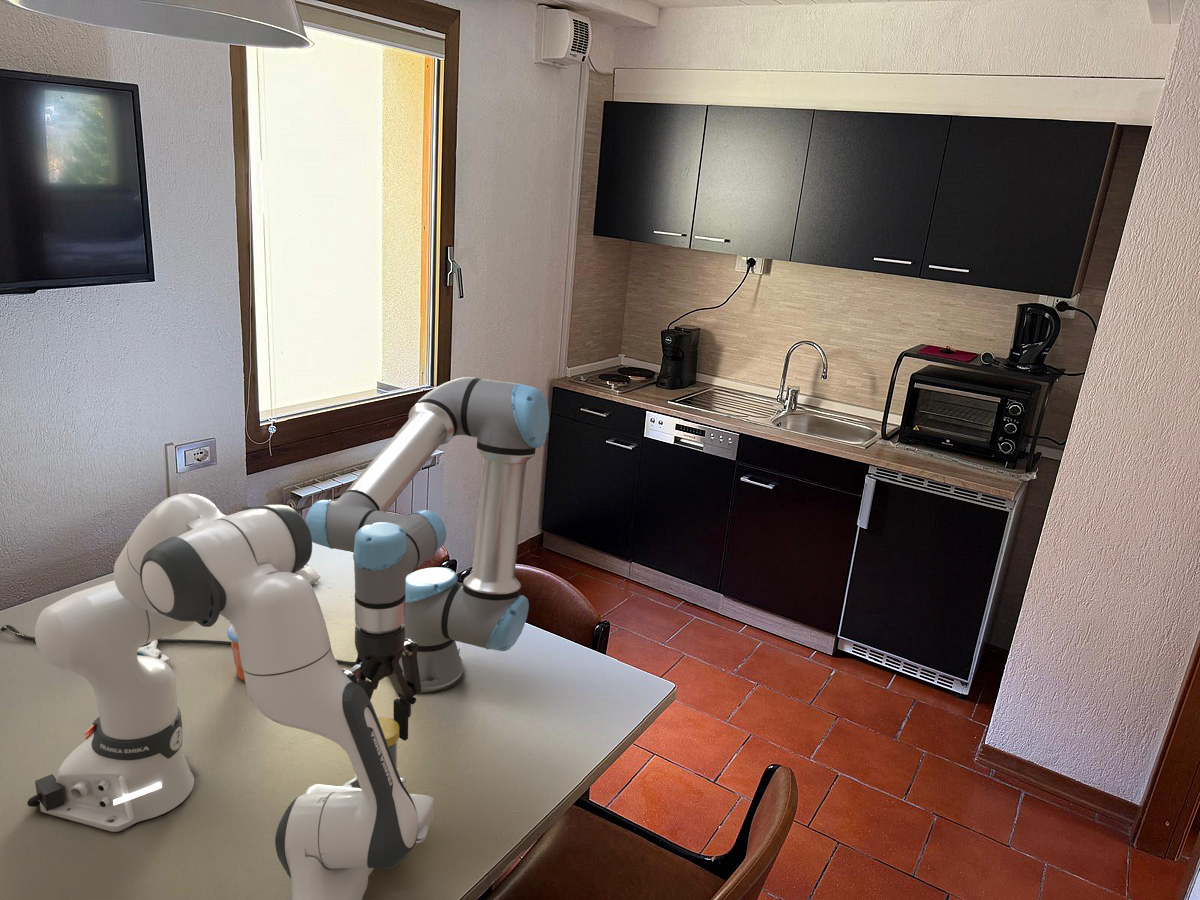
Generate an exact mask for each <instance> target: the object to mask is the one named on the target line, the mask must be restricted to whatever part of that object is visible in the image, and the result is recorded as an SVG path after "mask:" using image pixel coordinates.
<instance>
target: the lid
mask: <svg viewBox="0 0 1200 900" xmlns="http://www.w3.org/2000/svg"><path fill="white" fill-rule="evenodd" d="M377 718H378V720H379V723H380V725H381V728H382V731H383V733H384V736H385V739H386V741H387V744H388V747H390V746H392V745H393V744H395V743H396V742H397V743H398V741H399V739H400V738H399V724H398V723H397V722H396V721H395V720H394V718H393V719H392V718H389V717H377Z"/></svg>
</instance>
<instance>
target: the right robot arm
mask: <svg viewBox="0 0 1200 900" xmlns="http://www.w3.org/2000/svg"><path fill="white" fill-rule="evenodd" d="M549 428H550V411H549V405H548V402H547V398H546V396H545V394H544V393H543V392H542V391H541V390H540V389H539V388H537V387H536V386H535V387H534V386H531V385H526V384H523V383H516V382H510V381H502V380H501V381H500V380H493V379H486V378H480V377H474V376H473V377H472V376H465V377H459V378H455V379H452V380H450V381H447V382H443V383H442V384H440V385H438V386H436V387H434V388H432V390H430V391H429V392H427V393H425V394H424V395H422V397H421V398H420V399H418V401H416V403H415V404H414V405H413V406H412V407H411V409H410V410H409V412H408V420H407V421H406V422H405V423H404V424H403V425H402V426H401V427H400V429H399V430H398V431H397V432H396V433H395V434H394V436H393V437H392V438H391V439H390V440H389V441H388V442H387V444H386V445H385V446H384V447H383V448H382V449H381V450H380V451H379V453H378V454H377V455H375V457H374V458H373V460H371V462H369V464H368V465H367V466H366V467H365V469H363V470H362V472H361V473H360V474H359V475H358V476H357V477H356V479H354V481H353V482H352V483H351V484H350V485H349V487H347V489H346V490H345V491H344V492H343V493H342V494H341V495H340V497H338V499H336V500H333V499H320V500H317V501H315V502H314V503H313V504H312V505H311V507H310V508H309V510H308V512H307V514H306V516H305V521H306V523H307V525H308V527H309V529H310V532H311V536H312V544H315V545H319V546H322V547H325V548H329V549H331V550H339V551H344V552H350V553H353V554H352V558H353V566H354V567H353V568H354V622H355V625H354V645H355V651H356V653H357V657H356V660H355V661H349V660H341V659H336V658H335V660H336V661H337V663H338V665H344V666H351V667H350V668H348V669H346V668H341V669H342V671H343V672H344V673H345V675H346V676H347V677H348V678H349V679H350V680H351V681H352V682H353V683H355V684H357V685H359V686H361V687H362V688H363V689H364V690H365V692H366V693H367V695H368V697H369V699H370V701H371V700H372V697H373V694H374V691H375V690H377V689H378V686H379V683H380V681H382V680H383V679H384V678H386V677H388V679H389V681H390V683H391V685H392V687H393V689H394V692H395V693H396V696H397V697H398V698H394V699H393V720H395V721H396V722H397V723H398V724H399V739H400V740H402V741H404V742H405V741H407V740H409V719H410V718H411V715H412V706H413V705H415V704H416V702H417V697H415V696H416V695H417V696H418V695H420V694H430V693H431V694H432V693H438V692H441V691H445V690H447V689H450V688H451V687H453V686H455V685H456V684H457V683H458V682H459V681H460V680H461V679H462V676H463V672H464V664H463V660H462V657H461V656H460V654H461V648H460V647H459V648H458V646H457V642H459V643H463V644H466V645H470V646H475V647H479V648H482V649H485V650H489V651H490V650H494V651H499V652H506V651H508V650H510V649H511V648H512V647H513V646H514V645H515V644H516V643H517V641H518V640H519V638H520V636H521V634H522V631H523V630H524V628H525V624H526V623H527V622H526V621H527V619H528V614H529V609H530V603H529V599H528V597H526V596H525V595H521V587H522V584H521V582H520V581H519V580H518V579H517V577H515V574H516V564H517V554H518V544H519V537H520V529H521V528H520V526H521V518H522V509H523V508H522V507H523V499H524V489H525V480H526V470H527V463H528V462H529V460H530V459H532V458H533V457H535V455H536V449H538V448H541V447H542V446H544V444H545V443H546V440H547V434H548V433H549ZM456 436H467V437H472V438H476V447H475V448H476V450H477V452H478V453H479V454H480V455H481V456H482V466H481V467H482V468H481V477H480V487H479V497H478V507H477V518H476V528H475V536H474V537H475V538H474V548H473V558H472V567H471V568H472V569H471V573H469V574H468V575H467V576H466V577H464V579H463V582H459V581H458V580H459V579H458V578H459V577H458V575H457V573H456V571H454V570H453V569H451V568H448V567H434V566H433V567H427V568H421V569H418V568H419V567H420V566H422V564H424V563H425V562H427V561H428V560H430V559H431V558H433V557H434V556H435V555H436V553H437V552H439V550H440V549H441V548H442V547H443V546H444V544H445V542H446V539H447V529H446V526H445V523H444V521H443V519H442V518H441V517H440V516H439V514H436V513H435V512H434V511H431V510H428V509H420V510H417V511H415V512H414V511H413V512H411V513H409V514H407V515H403V514H398V513H394V512H389V511H388V510H389V509H390V508H391V506H392V505H393V504H394V502H395V501H397V499H398V497H399V496H400V495H401V494H402V493H403V492H404V490H405V489H406V488H407V487H408V485H409V484H410V483H411V481H412V480H414V478H415V477H416V475H417V474H418V473H419V471H420V470H421V469H422V468H423V467H424V466H425V464H426V463H427V462H428V460H429V459H430V458H431V457H432V455H433V454H434V453H435V452H436V451H437V449H438V448H439V447H440V446H443V445H447V444H448V443H450V442H451V440H452V439H453V438H454V437H456ZM416 569H418V570H416ZM4 626H6V627H7V628H9V629H10V630H9V629H7V628H4ZM5 630H9V631H11V632H12V631H13V632H15V633H18V634H19V633H21V632H20V631H19V630H17V629H16V627H14V626H13V625H10V624H5V625H3V626H2V627H1V628H0V631H2V632H3V631H5ZM13 632H12V633H13ZM15 633H13V634H14V635H15V636H17V637H18V638H19V639H22V640H26V641H31V642H32V641H33V642H35V636H29V635H26V634H23V635H24V636H22V635H17V634H15ZM157 640H158V643H157V644H203V645H222V646H232V645H231V643H232V641H228V640H215V639H213V640H211V639H186V638H185V639H183V638H182V639H180V638H179V639H176V638H175V639H174V638H160V639H157ZM150 643H151V642H150ZM150 643H149V644H150Z"/></svg>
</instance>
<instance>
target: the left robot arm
mask: <svg viewBox="0 0 1200 900" xmlns="http://www.w3.org/2000/svg"><path fill="white" fill-rule="evenodd" d="M136 526H137V527H136V528H135V529H134V530H133V532H132V533H131V535H130V537H129V539H128V540H127V542H126V543H125V545H124V546H123V549H122V550H121V552H120V554H119V555H118V557H117V559H116V560H115V563H114V566H113V580H111V581H108V582H104V583H101V584H98V585H95V586H92V587H88V588H86V589H83V590H79V591H76V592H73V593H70V594H69V595H67V596H65V597H63V598H61V599H59V600H57V601H55V602H54V603H52V604H50V605H48V606H47V607H45V608H43V609H42V610H41V612H40V614H39V615H38V617H37V620H36V623H35V626H34V637H35V641H34V642H35V645H36V648H37V650H38V651H39V653H40V655H41V656H42V657H43V658H44V659H45V660H46V661H47V662H49V663H50V664H51V665H53V666H55V667H57V668H60V669H63V670H68V671H71V672H75V673H77V674H79V675H81V676H82V677H84V678H85V679H86V680H87V681H88V682H89V683H90V685H91V687H92V688H93V691H94V694H95V700H96V704H97V708H98V715H99V716H98V717H97V718H96V719H95V720H94V721H92V725H91V726H89V728H88V729H87V730H86V731H85V733H83V734H84V736H85V737H84V741H83V742H82V743H80V744H79V745H78V746H77V747H75V749H73V750H72V751H71V752H70V753H69V754H68V756H67V757H65V759H64V760H63V761H62V762H61V764H60V766H59V768H58V770H57V773H56V776H55V775H54V774H53V773H51V774H49V775H46V776H44V777H41V778H39V779H36V780H34V784H35V792H36V794H35V795H33V796H32V797H30V798H28V800H27V802H26V805H27V806H28V807H31V808H38V807H39V811H40V812H42V813H45V814H47V815H51V816H54V817H58V818H61V819H65V820H69V821H72V822H75V823H78V824H82V825H86V826H91V827H94V828H97V829H100V830H104V831H107V832H111V833H117V832H120V831H123V830H125V829H128V828H129V827H131V826H133V825H135V824H136V823H139V822H142V821H146V820H149V819H153V818H156V817H159V816H161V815H164V814H166V813H168V812H170V811H171V810H173V809H175V808H176V807H178V806H179V805H181V804H182V803H183V802H184V801H185V800H187V798H188V797H189V796H190V794H191V793H192V791H193V789H194V786H195V776H194V774H193V773H192V771H191V768H190V766H189V764H188V762H187V761H188V760H187V758H186V754H185V751H184V746H183V739H184V737H183V736H184V735H183V734H184V733H183V732H184V731H183V720H182V712H181V709H180V707H179V705H178V698H177V686H176V685H177V684H176V676H175V672H174V670H173V668H172V667H171V666H170V664H169V665H168V664H167V663H166V662H164V661H162V660H160V659H157V658H154V657H149V656H140V655H137V651H138V648H139V647H140V646H141V647H143V646H146V645H148V644H150V642H152V641H155V640H157V639H164V638H165V637H168V636H170V635H173V634H175V633H178V632H181V631H183V630H184V629H186V628H188V627H190V626H191V625H193V624H195V623H197V624H198V625H199V626H201V627H203V628H210V627H213V626H214V625H215V624H216V622H218V619H219V616H222V617H223V618H225V619H226V620H227V621H228V622H229V623H230V624H231V625H232V626H233V627H234V629H235V632H236V635H237V639H238V645H239V652H240V658H241V663H242V668H243V673H244V678H245V681H244V682H245V687H246V690H247V693H248V696H249V697H250V700H251V702H252V704H253V706H254V707H255V709H256V710H257V711H258V712H259V713H260V714H261V715H263V716H264V717H265V718H267V719H269V720H270V721H272V722H274V723H277V724H279V725H282V726H285V727H288V728H292V729H298V730H302V731H305V732H308V733H312V734H315V735H318V736H320V737H324V738H325V739H328V740H330V741H332V742H334V743H335V744H337V745H338V746H339V747H340V748H342V750H344V752H345V753H346V754H347V756H348V758H349V761H350V763H351V766H352V769H353V771H354V774H355V775H354V778H352V779H350V780H348V781H346V782H345V783H343V785H342V786H341V785H332V784H321V783H314V784H312V785H310V786H308V787H307V788H306V789H305V791H304V793H302V794H299V795H298V796H297V797H296V798H294V799H293V801H291V802H290V804H289V805H288V806H287V808H286V810H285V811H284V813H283V815H282V817H281V818H280V821H279V824H278V826H277V829H276V832H275V838H274V839H275V840H274V842H275V844H274V845H275V846H274V847H275V852H276V855H277V858H278V860H279V863H280V864H281V866H282V868H283V869H284V871H285V872H286V874H287V876H288V877H289V878H290V882H291V895H290V896H291V898H290V900H363V898H364V895H365V894H366V890H367V887H368V883H369V876H370V875H371V874H372V873H373V871H374V869H379V870H392V869H394V868H395V867H396V866H397V865H399V864H400V863H401V862H402V861H404V859H406V858H407V856H408V855H409V854H410V853H411V852H412V850H414V848H415V846H416V845H419V844H421V843H424V842H425V841H426V839H427V836H428V833H429V828H430V825H431V823H432V821H433V818H434V814H435V801H434V798H433V797H432V796H431V795H429V794H420V793H410V792H409V791H408V789H407V788H406V786H407V777H405V776H401V775H400V773H399V770H398V767H397V768H396V765H395V763H394V760H393V757H392V755H391V752H390V749H389V747H388V744H387V741H386V739H385V736H384V733H383V731H382V728H381V725H380V723H379V720H378V718H379V717H378V715H377V713H376V711H375V708H374V706H373V704H372V701H371V700H370V699H369V697H368V695H367V693H366V692H365V690H364V689H363V688H362V687H361V686H359V685H357V684H355V683H353V682H352V681H351V680H350V679H349V678H348V677H347V676H346V675H345V673H344V672H343V671H342V669H343V668H341V666H340V664H338V663H337V661H336V660H335V659H336V657H335V655H334V652H333V649H332V645H331V639H330V635H329V631H328V627H327V623H326V620H325V617H324V613H323V611H322V607H321V605H320V602H319V600H318V596H317V595H316V593H315V591H314V588H313V586H312V584H310V583H309V582H308V580H306V579H305V578H304V577H302V576H301V575H298V574H295V573H296V572H298V571H299V570H300V569H302V568H303V567H304V568H305V566H307V565H308V563H309V562H310V559H311V557H312V554H313V542H312V536H311V532H310V529H309V527H308V525H307V523H306V519H305V518H304V517H303V516H302V514H300V513H299V512H297V510H295V509H294V508H292V507H290V506H289V505H285V504H263V505H254V506H244V507H243V508H242V510H241V511H238V512H235V513H231V514H229V515H227V514H226V515H225V514H223V513H222V511H220V509H219V508H218V507H217V506H216V505H215V503H214V502H212V501H211V500H209V499H208V498H206V497H204V496H203V495H200V494H195V493H178V494H173V495H172V496H169V497H166V498H165V499H164V500H162V501H161V502H160V503H158V504H157V505H156V506H155V507H153V509H152V510H150V511H149V512H148V514H146V515H145V516H144V518H142V520H141V521H140V523H138V525H136ZM306 564H307V565H306Z"/></svg>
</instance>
